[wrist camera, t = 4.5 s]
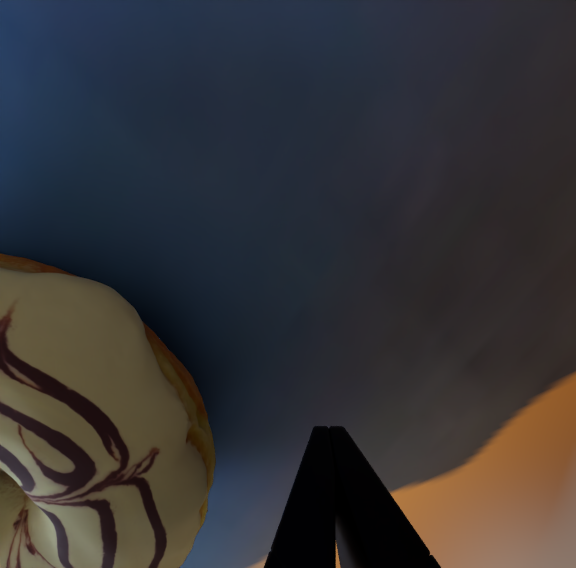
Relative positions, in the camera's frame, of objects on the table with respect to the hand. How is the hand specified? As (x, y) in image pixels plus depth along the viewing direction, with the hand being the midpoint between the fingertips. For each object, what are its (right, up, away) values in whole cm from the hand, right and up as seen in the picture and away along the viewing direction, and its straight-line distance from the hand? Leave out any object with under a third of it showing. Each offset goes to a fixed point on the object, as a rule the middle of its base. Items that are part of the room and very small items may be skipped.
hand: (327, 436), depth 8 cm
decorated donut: (-8, +1, +2) cm, 8 cm away
